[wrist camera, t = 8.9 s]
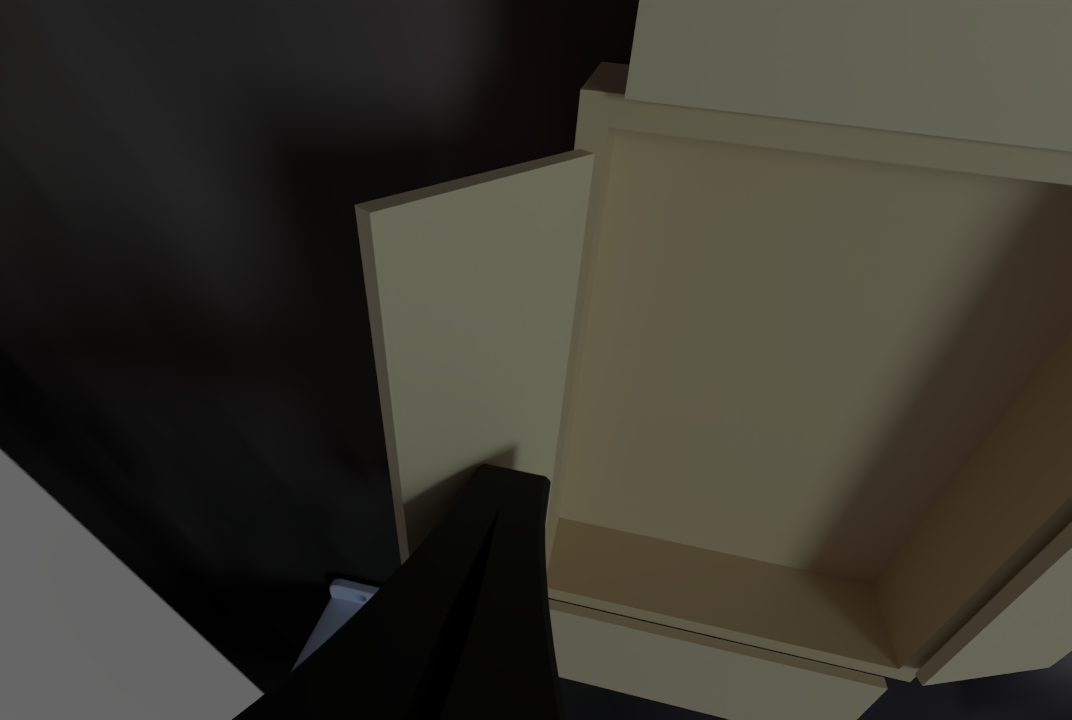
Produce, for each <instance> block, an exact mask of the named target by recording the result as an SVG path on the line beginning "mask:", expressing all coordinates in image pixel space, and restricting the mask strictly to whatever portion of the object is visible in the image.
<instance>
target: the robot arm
mask: <svg viewBox="0 0 1072 720" xmlns="http://www.w3.org/2000/svg"><path fill="white" fill-rule="evenodd" d="M550 485H551V481H550V480H549V479H548V478H547V477H546V476H542V475H537V474H532V473H528V472H523V471H518V470H513V469H508V468H504V467H499V466H494V465H489V464H483V465H481V466H479V467H478V468H477V470H476V472H475V473H474V475H473V476H472V478H471V479H470V481H469V482H468V484H467V485H466V486H465V488H464V489H463V491H462V492H461V493H460V495H459V496H458V498H457V499H456V500H455V502H454V503H453V504H452V506H451V507H450V508H449V509H448V511H447V512H446V513H445V515H444V516H443V517H442V518H441V520H440V521H439V522H438V523H437V525H436V526H435V527H434V528H433V529H432V530H431V532H430V533H429V534H428V535H427V536H426V538H425V539H424V540H423V541H422V542H421V544H420V545H419V546H418V547H417V548H416V550H415V551H414V552H413V553H412V554H411V555H410V556H409V558H408V559H407V560H406V561H405V562H404V563H403V564H402V565H401V566H400V567H399V568H398V569H397V571H396V572H395V573H394V574H393V575H392V576H391V577H390V578H389V579H388V580H387V581H386V582H385V583H384V584H383V586H382V587H381V588H378V587H374V586H370V585H366V584H361V583H357V582H353V581H349V580H345V579H335V580H334V581H333V582H332V584H331V586H330V593H331V596H332V598H331V599H330V601H329V603H328V605H327V607H326V608H325V610H324V612H323V614H322V616H321V618H320V619H319V621H318V623H317V625H316V627H315V629H314V630H313V632H312V634H311V636H310V638H309V640H308V641H307V643H306V645H305V647H304V649H303V651H302V652H301V654H300V656H299V658H298V660H297V662H296V663H295V665H294V667H293V669H292V671H291V672H290V673H289V674H288V675H287V676H286V677H284V678H283V679H282V680H281V681H280V682H278V683H277V684H276V685H275V686H274V687H272V688H271V689H270V690H269V691H268V692H266V693H265V694H264V695H263V696H262V697H260V698H259V699H258V700H257V701H256V702H254V703H253V704H252V705H250V706H249V707H248V708H246V709H245V710H244V711H243V712H241V713H240V714H239V715H237V716H236V717H235V718H233V719H232V720H567V719H566V714H565V709H564V704H563V698H562V692H561V687H560V681H559V675H558V669H557V662H556V656H555V649H554V642H553V634H552V626H551V618H550V608H549V598H548V585H547V571H546V551H545V524H546V515H547V508H548V500H549V493H550Z"/></svg>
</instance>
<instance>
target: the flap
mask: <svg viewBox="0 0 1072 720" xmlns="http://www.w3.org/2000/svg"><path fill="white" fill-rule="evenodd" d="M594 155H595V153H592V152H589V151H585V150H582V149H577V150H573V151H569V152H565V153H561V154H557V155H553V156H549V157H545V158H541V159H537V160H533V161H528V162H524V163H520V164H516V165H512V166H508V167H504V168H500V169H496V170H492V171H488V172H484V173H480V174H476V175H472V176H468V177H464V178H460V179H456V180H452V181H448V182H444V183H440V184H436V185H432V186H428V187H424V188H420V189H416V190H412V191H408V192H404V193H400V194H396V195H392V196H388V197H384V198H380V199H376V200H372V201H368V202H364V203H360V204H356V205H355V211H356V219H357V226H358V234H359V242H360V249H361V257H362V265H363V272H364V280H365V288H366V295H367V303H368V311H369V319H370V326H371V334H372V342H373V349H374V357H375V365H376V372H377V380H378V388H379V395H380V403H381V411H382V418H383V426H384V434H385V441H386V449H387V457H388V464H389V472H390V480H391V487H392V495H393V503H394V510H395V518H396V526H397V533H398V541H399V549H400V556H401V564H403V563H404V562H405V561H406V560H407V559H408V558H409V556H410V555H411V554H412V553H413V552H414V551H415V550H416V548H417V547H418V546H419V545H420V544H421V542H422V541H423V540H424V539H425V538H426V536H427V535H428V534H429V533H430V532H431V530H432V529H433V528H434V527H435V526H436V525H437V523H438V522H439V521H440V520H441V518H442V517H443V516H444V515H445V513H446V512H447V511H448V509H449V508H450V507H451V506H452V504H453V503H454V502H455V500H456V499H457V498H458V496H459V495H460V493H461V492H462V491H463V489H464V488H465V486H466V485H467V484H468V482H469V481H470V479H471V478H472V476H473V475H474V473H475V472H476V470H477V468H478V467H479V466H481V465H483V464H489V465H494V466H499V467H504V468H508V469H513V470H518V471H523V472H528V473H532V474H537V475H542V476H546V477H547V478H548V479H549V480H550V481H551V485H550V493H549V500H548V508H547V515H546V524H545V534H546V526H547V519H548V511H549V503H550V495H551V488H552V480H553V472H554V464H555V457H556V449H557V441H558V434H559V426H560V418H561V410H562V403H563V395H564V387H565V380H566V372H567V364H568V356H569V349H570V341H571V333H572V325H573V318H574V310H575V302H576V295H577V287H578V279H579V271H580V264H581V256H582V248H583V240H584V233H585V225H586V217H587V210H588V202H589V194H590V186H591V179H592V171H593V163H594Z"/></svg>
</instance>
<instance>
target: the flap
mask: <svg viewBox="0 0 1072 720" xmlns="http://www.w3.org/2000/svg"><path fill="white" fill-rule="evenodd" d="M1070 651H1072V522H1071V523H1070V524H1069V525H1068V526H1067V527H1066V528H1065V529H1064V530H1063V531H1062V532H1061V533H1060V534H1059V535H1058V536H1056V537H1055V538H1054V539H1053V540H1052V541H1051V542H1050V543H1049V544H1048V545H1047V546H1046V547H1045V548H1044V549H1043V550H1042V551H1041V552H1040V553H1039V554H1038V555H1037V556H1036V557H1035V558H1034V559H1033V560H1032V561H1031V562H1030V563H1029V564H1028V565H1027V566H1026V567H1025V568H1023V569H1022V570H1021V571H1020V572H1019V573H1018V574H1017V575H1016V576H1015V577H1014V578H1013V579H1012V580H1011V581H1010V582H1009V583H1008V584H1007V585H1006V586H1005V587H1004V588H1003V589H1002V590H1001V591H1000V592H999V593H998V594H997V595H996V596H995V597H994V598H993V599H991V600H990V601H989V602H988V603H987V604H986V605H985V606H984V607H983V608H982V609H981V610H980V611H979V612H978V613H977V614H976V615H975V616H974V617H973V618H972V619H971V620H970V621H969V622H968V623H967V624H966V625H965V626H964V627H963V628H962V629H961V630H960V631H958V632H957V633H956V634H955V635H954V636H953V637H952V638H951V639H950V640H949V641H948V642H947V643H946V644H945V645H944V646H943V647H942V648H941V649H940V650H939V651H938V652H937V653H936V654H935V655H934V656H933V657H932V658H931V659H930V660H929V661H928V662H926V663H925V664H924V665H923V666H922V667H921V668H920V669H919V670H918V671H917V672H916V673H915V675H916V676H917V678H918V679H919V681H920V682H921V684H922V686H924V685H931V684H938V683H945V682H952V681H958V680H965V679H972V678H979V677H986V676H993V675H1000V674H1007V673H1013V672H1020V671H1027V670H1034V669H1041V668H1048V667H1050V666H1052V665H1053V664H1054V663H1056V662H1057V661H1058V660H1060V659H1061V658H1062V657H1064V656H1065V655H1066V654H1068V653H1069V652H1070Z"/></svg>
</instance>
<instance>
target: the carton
mask: <svg viewBox="0 0 1072 720" xmlns="http://www.w3.org/2000/svg"><path fill="white" fill-rule="evenodd" d="M577 149H582V150H585V151H589V152H592V153H595V155H594V163H593V171H592V179H591V186H590V194H589V202H588V210H587V217H586V225H585V233H584V240H583V248H582V256H581V264H580V271H579V279H578V287H577V295H576V302H575V310H574V318H573V325H572V333H571V341H570V349H569V356H568V364H567V372H566V380H565V387H564V395H563V403H562V410H561V418H560V426H559V434H558V441H557V449H556V457H555V464H554V472H553V480H552V488H551V495H550V503H549V511H548V519H547V526H546V534H545V551H546V571H547V585H548V598H553V599H557V600H561V601H565V602H570V603H574V604H578V605H583V606H587V607H591V608H595V609H600V610H604V611H608V612H612V613H617V614H621V615H625V616H630V617H634V618H638V619H642V620H647V621H651V622H655V623H660V624H664V625H668V626H672V627H677V628H681V629H685V630H689V631H694V632H698V633H702V634H707V635H711V636H715V637H719V638H724V639H728V640H732V641H736V642H741V643H745V644H749V645H754V646H758V647H762V648H766V649H771V650H775V651H779V652H784V653H788V654H792V655H796V656H801V657H805V658H809V659H813V660H818V661H822V662H826V663H831V664H835V665H839V666H843V667H848V668H852V669H856V670H861V671H865V672H869V673H873V674H878V675H882V676H886V677H890V678H895V679H899V680H903V681H908V682H911V681H912V680H913V679H914V678H915V677H916V675H915V673H916V672H917V671H918V670H919V669H920V668H921V667H922V666H923V665H924V664H925V663H926V662H928V661H929V660H930V659H931V658H932V657H933V656H934V655H935V654H936V653H937V652H938V651H939V650H940V649H941V648H942V647H943V646H944V645H945V644H946V643H947V642H948V641H949V640H950V639H951V638H952V637H953V636H954V635H955V634H956V633H957V632H958V631H960V630H961V629H962V628H963V627H964V626H965V625H966V624H967V623H968V622H969V621H970V620H971V619H972V618H973V617H974V616H975V615H976V614H977V613H978V612H979V611H980V610H981V609H982V608H983V607H984V606H985V605H986V604H987V603H988V602H989V601H990V600H991V599H993V598H994V597H995V596H996V595H997V594H998V593H999V592H1000V591H1001V590H1002V589H1003V588H1004V587H1005V586H1006V585H1007V584H1008V583H1009V582H1010V581H1011V580H1012V579H1013V578H1014V577H1015V576H1016V575H1017V574H1018V573H1019V572H1020V571H1021V570H1022V569H1023V568H1025V567H1026V566H1027V565H1028V564H1029V563H1030V562H1031V561H1032V560H1033V559H1034V558H1035V557H1036V556H1037V555H1038V554H1039V553H1040V552H1041V551H1042V550H1043V549H1044V548H1045V547H1046V546H1047V545H1048V544H1049V543H1050V542H1051V541H1052V540H1053V539H1054V538H1055V537H1056V536H1058V535H1059V534H1060V533H1061V532H1062V531H1063V530H1064V529H1065V528H1066V527H1067V526H1068V525H1069V524H1070V523H1071V522H1072V0H639V6H638V13H637V19H636V26H635V33H634V39H633V46H632V52H631V59H630V65H628V64H619V63H609V62H601V63H600V65H599V66H598V67H597V69H596V70H595V71H594V72H593V74H592V75H591V76H590V78H589V79H588V80H587V82H586V83H585V84H584V85H583V87H582V88H581V90H580V100H579V109H578V118H577V128H576V137H575V146H574V150H577ZM549 608H550V618H551V626H552V634H553V642H554V649H555V656H556V662H557V669H558V675H559V677H563V678H567V679H571V680H575V681H579V682H583V683H587V684H591V685H595V686H599V687H603V688H607V689H611V690H615V691H619V692H623V693H627V694H631V695H635V696H639V697H643V698H647V699H651V700H655V701H658V702H662V703H666V704H670V705H674V706H678V707H682V708H686V709H690V710H694V711H698V712H702V713H706V714H710V715H714V716H718V717H722V718H726V719H730V720H857V719H858V718H859V717H860V716H861V715H862V714H863V713H864V712H865V711H866V710H867V709H868V708H869V707H870V706H871V705H872V704H873V703H874V702H875V701H876V700H877V699H878V698H879V697H880V696H881V695H882V694H883V693H884V692H885V691H886V690H887V686H886V682H885V679H884V678H883V677H879V676H875V675H870V674H866V673H862V672H858V671H853V670H849V669H845V668H840V667H836V666H832V665H828V664H823V663H819V662H815V661H811V660H806V659H802V658H798V657H793V656H789V655H785V654H781V653H776V652H772V651H768V650H764V649H759V648H755V647H751V646H747V645H742V644H738V643H734V642H729V641H725V640H721V639H717V638H712V637H708V636H704V635H700V634H695V633H691V632H687V631H682V630H678V629H674V628H670V627H665V626H661V625H657V624H653V623H648V622H644V621H640V620H635V619H631V618H627V617H623V616H618V615H614V614H610V613H606V612H601V611H597V610H593V609H589V608H584V607H580V606H576V605H571V604H567V603H563V602H559V601H554V600H550V599H549Z"/></svg>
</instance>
